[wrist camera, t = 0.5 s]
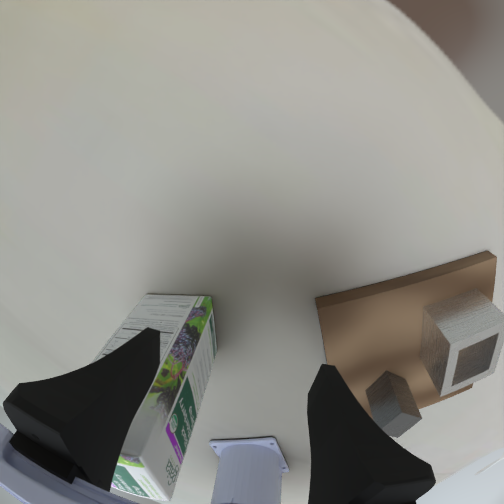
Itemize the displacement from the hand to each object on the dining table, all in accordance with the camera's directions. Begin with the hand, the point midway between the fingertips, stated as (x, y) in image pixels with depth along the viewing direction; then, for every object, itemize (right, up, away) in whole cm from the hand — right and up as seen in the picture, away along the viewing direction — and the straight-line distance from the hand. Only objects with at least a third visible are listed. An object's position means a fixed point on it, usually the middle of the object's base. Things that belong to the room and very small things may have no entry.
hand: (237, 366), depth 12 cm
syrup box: (-5, -1, +12) cm, 13 cm away
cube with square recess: (+17, -1, +8) cm, 19 cm away
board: (+15, -4, +11) cm, 19 cm away
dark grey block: (+13, -7, +10) cm, 18 cm away
